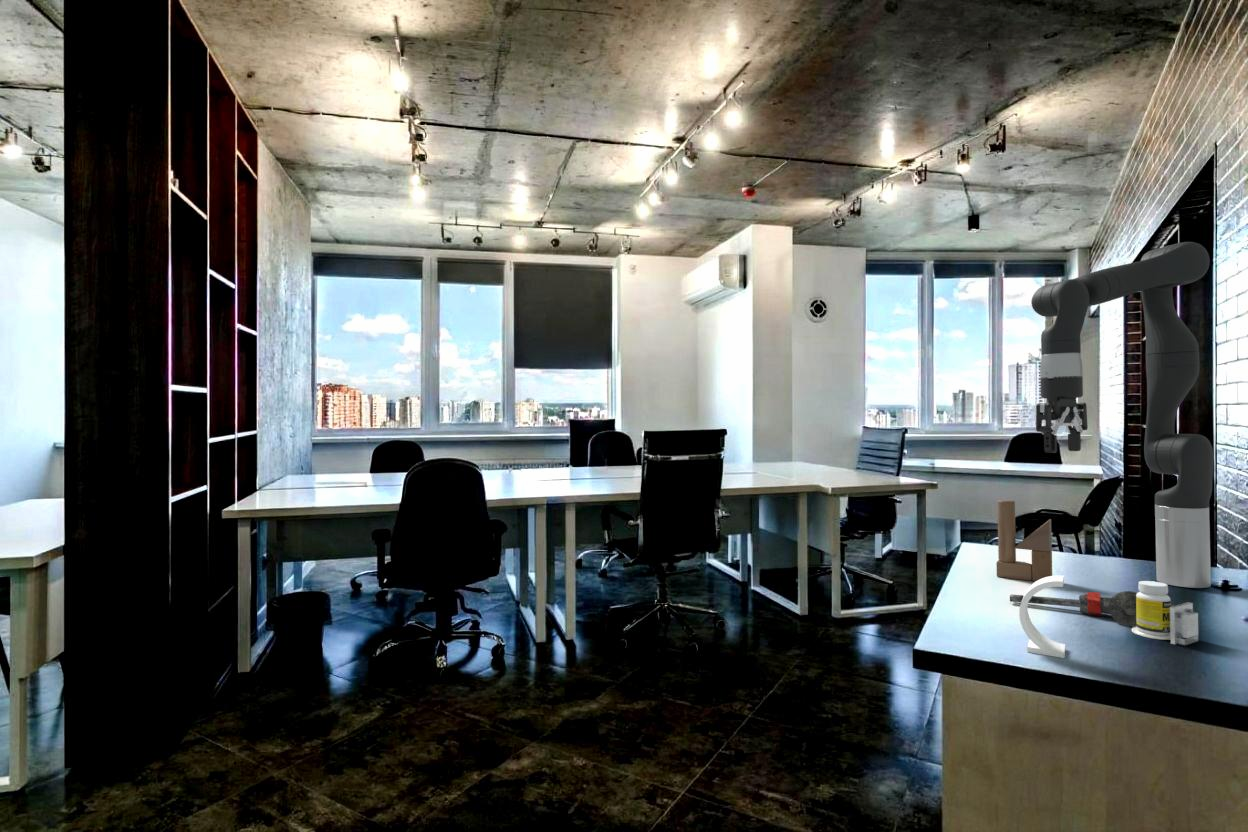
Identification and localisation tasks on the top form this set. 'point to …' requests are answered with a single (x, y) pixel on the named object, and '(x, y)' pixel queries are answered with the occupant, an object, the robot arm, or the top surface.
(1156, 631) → the supplement bottle
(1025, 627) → the headphone stand
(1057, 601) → the valve
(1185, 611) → the flange stub
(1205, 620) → the top surface
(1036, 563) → the wooden block
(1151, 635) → the pad
